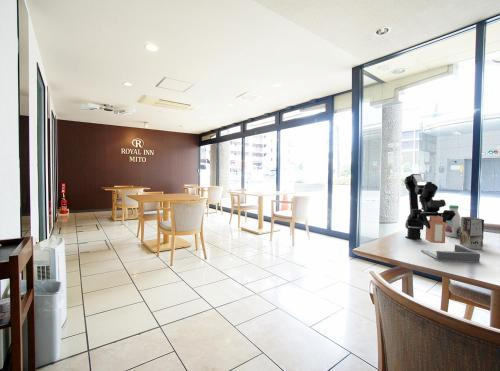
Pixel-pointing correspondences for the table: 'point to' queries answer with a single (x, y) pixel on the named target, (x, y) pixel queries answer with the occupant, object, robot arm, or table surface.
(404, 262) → the table surface
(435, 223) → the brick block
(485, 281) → the table surface
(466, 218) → the coffee box
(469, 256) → the tray
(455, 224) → the milk bottle
